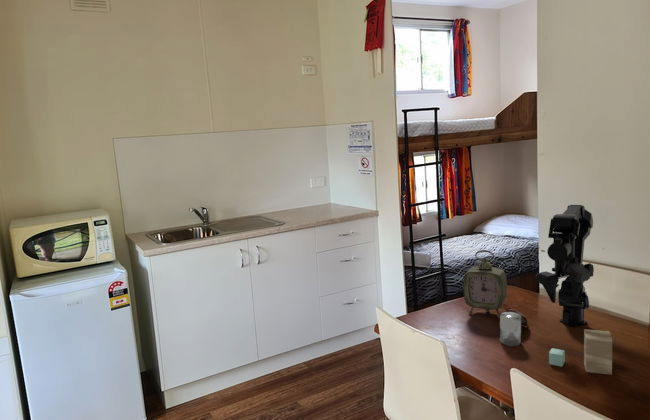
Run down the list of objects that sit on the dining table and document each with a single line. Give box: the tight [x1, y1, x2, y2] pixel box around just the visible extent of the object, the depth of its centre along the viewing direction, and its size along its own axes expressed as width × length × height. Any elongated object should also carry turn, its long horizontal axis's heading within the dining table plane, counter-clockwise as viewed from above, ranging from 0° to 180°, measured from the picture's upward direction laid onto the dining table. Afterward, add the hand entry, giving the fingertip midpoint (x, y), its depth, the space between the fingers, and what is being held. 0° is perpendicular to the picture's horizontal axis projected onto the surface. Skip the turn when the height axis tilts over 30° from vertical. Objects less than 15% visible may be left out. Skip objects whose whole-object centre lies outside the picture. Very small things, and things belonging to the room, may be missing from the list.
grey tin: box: [499, 311, 522, 347], centre depth 162 cm, size 6×6×9 cm
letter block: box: [548, 347, 566, 367], centre depth 147 cm, size 4×4×4 cm
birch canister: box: [583, 329, 613, 375], centre depth 141 cm, size 6×6×10 cm
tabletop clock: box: [462, 249, 508, 319], centre depth 187 cm, size 14×9×25 cm, turn 58°
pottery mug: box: [498, 307, 530, 331], centre depth 173 cm, size 12×9×8 cm
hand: (564, 300), depth 161 cm, fingers open, 9 cm apart
